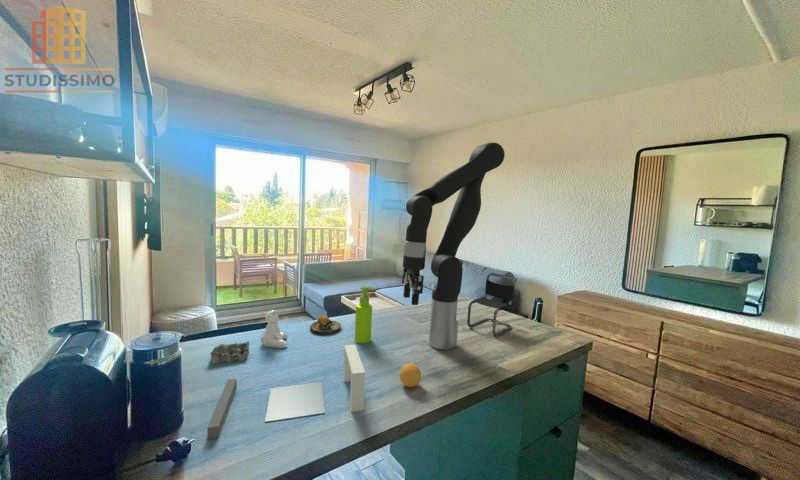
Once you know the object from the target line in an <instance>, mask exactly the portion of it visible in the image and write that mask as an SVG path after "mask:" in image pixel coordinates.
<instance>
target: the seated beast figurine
mask: <svg viewBox="0 0 800 480" xmlns="http://www.w3.org/2000/svg"><path fill="white" fill-rule="evenodd" d="M264 318H265V321H266V322H267V324H266V327H265V331H264V332H263V334H261V337H260V343H261V344H262V345H263V346H265V347H266V348H275V349H286V348H287V347H288V342H287V341H285V340H287V339H288V333H286V332H282V331H281V330H280V326H279V321H280V319H279V314H277V312H276V311H275V310H274V309H271V310H270V311H268V312H266V314H265V316H264Z"/></svg>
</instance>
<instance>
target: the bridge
mask: <svg viewBox="0 0 800 480" xmlns="http://www.w3.org/2000/svg"><path fill="white" fill-rule="evenodd" d="M343 349H344V350H343V353H344V354H343V372H342V373H343V375H342V376H343V382H344V383H349V382H350V397H349V398H350V399H349V409H350V412H351V413H354V412H362V411H364V408H365V386H366V385H365V384H366V370H365V368H364V365H363V363H362V359H361V358H360V354H359V352H358V349H357V346H356V344H345V345H344V348H343Z"/></svg>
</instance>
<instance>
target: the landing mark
mask: <svg viewBox="0 0 800 480" xmlns="http://www.w3.org/2000/svg"><path fill="white" fill-rule="evenodd" d="M324 414H326V409H325V399H324V390H323V382H322V381H319V382H311V383H304V384H302V383H301V384H295V385H288V386H287V385H286V386H279V387H270V390H269V397H268V403H267V408H266V415H265V420H264V423H270V422H271V423H272V422H278V421H283V420H289V419H298V418H303V417H310V416H312V417H313V416H317V415H324Z"/></svg>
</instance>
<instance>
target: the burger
mask: <svg viewBox="0 0 800 480" xmlns="http://www.w3.org/2000/svg"><path fill="white" fill-rule="evenodd" d="M341 328H342V325H341V323H340V322H337V321H336V320H330V319H329V316H328V315H326V314H325V315H324V314H323V315H321V314H320V316H319V317H318V318H317V321H315V322H313V323H311V324H310V327H309V331H310V333H312V334H315V335H320V336H327V335H333V334H337V333H339V332H340V329H341Z"/></svg>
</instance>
